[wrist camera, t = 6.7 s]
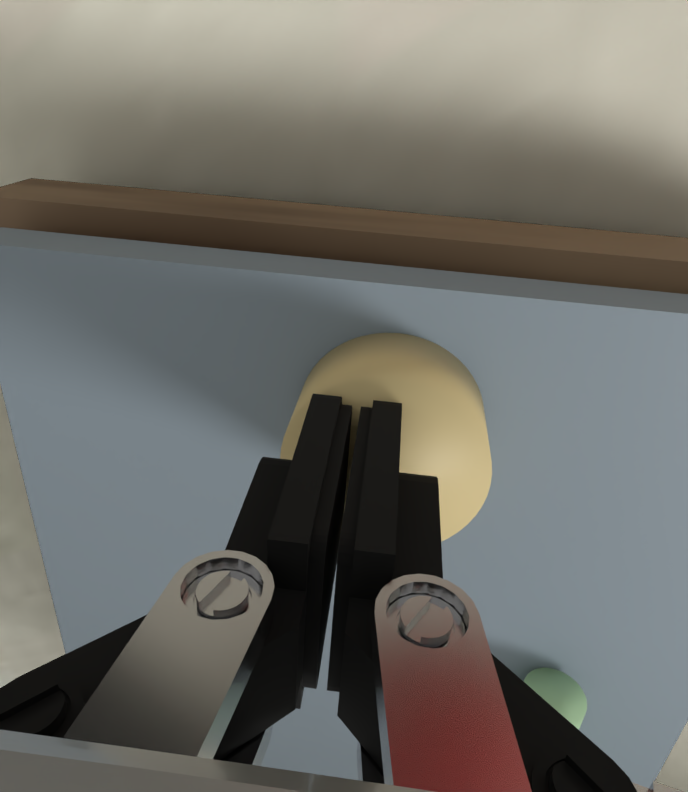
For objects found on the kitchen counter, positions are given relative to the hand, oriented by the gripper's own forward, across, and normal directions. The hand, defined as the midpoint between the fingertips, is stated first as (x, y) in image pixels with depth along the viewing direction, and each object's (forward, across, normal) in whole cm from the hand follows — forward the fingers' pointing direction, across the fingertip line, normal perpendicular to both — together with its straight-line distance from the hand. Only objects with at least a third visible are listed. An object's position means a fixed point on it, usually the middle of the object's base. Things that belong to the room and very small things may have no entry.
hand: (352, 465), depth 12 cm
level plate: (+3, -1, +7) cm, 7 cm away
